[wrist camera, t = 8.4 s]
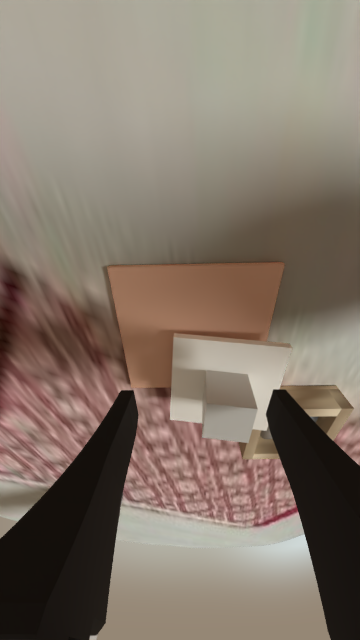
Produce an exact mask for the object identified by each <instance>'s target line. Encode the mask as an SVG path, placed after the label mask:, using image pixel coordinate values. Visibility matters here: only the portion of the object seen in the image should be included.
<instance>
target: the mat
mask: <svg viewBox="0 0 360 640" xmlns="http://www.w3.org/2000/svg"><path fill="white" fill-rule="evenodd" d="M284 266H285V264H284V263H283V262H263V263H212V264H162V265H111V266H108V267H107V269H108V274H109V279H110V284H111V289H112V294H113V299H114V304H115V309H116V314H117V318H118V323H119V328H120V333H121V338H122V343H123V348H124V353H125V358H126V363H127V367H128V372H129V377H130V382H131V387H132V388H166V387H171V384H172V360H173V337H174V333H179V334H190V335H201V336H212V337H223V338H234V339H245V340H256V341H267V336H268V332H269V328H270V324H271V320H272V316H273V312H274V307H275V303H276V299H277V295H278V291H279V287H280V282H281V278H282V274H283V270H284Z"/></svg>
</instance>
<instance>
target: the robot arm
mask: <svg viewBox="0 0 360 640" xmlns="http://www.w3.org/2000/svg"><path fill="white" fill-rule="evenodd" d="M266 417H267V421H268V425H269V429H270V433H271V436H272V439H273V441H274V444H275V447H276V449H277V452H278V455H279V457H280V460H281V462H282V465H283V468H284V470H285V473H286V475H287V478H288V481H289V483H290V486H291V489H292V492H293V495H294V498H295V502H296V505H297V508H298V512H299V515H300V519H301V522H302V526H303V529H304V533H305V537H306V540H307V544H308V548H309V552H310V556H311V560H312V564H313V567H314V572H315V575H316V580H317V583H318V588H319V592H320V597H321V601H322V606H323V610H324V615H325V619H326V624H327V629H328V632H329V635H330V638H331V640H360V466H359V465H358V464H357V463H356V462H355V461H354V460H352V459H351V458H350V457H349V456H348V455H347V454H346V453H345V452H344V451H343V450H342V449H341V448H340V447H339V446H338V445H337V444H336V443H335V442H334V441H333V440H332V439H331V438H330V437H329V436H328V435H327V434H326V433H325V432H324V431H323V430H322V429H321V428H320V427H319V426H318V425H317V424H316V423H315V422H314V421H313V419H312V418H311V417H310V416H309V415H308V414H307V413H306V412H305V411H304V410H303V408H302V407H301V406H300V405H299V404H298V403H297V402H296V401H295V399H294V398H293V397H292V396H291V395H290V394H289V393H288V392H287V390H286V389H273V392H272V395H271V399H270V402H269V405H268V408H267V411H266ZM137 422H138V410H137V405H136V400H135V395H134V390H124V391H121V392H120V393H119V395H118V397H117V398H116V400H115V402H114V404H113V405H112V407H111V408H110V410H109V412H108V413H107V415H106V416H105V418H104V419H103V421H102V422H101V424H100V425H99V427H98V428H97V430H96V431H95V433H94V434H93V436H92V437H91V438H90V440H89V441H88V442H87V444H86V445H85V447H84V448H83V449H82V451H81V452H80V453H79V454H78V456H77V457H76V458H75V460H74V461H73V462H72V463H71V464H70V466H69V467H68V468H67V469H66V470H65V472H64V473H63V474H62V475H61V476H60V477H59V479H58V480H57V481H56V482H55V483H54V484H53V485H52V487H51V488H50V489H49V490H48V491H47V492H46V493H45V494H44V495H43V496H42V498H41V499H40V500H39V501H38V502H37V503H36V504H35V505H34V506H33V507H32V508H31V509H30V510H29V511H28V512H27V513H26V514H25V515H24V516H23V517H22V518H21V519H20V520H19V521H18V522H17V523H16V524H15V525H14V526H13V527H12V528H11V529H10V530H9V531H8V532H7V533H6V534H5V535H4V536H3V537H2V538H1V539H0V640H89V639H90V636H96V635H97V634H98V632H99V631H100V630H101V629H102V627H103V626H104V624H105V622H106V613H107V604H108V594H109V586H110V578H111V570H112V562H113V555H114V547H115V540H116V533H117V526H118V519H119V513H120V506H121V499H122V493H123V488H124V483H125V479H126V475H127V471H128V466H129V462H130V458H131V454H132V449H133V445H134V441H135V436H136V430H137Z"/></svg>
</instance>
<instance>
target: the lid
mask: <svg viewBox="0 0 360 640" xmlns="http://www.w3.org/2000/svg"><path fill="white" fill-rule="evenodd" d="M291 352H292V347H291V345H290V344H289V343H278V342H267V341H256V340H245V339H234V338H223V337H212V336H201V335H190V334H179V333H174V337H173V360H172V384H171V408H170V420H178V421H187V422H195V423H202V437H203V438H211V439H219V440H227V441H235V442H244V443H249V439H250V436H251V432H252V429H255V430H263V431H267V428H268V421H267V417H266V411H267V408H268V405H269V402H270V399H271V395H272V392H273V389H280V386H281V383H282V380H283V377H284V374H285V371H286V367H287V364H288V361H289V358H290V355H291Z"/></svg>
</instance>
